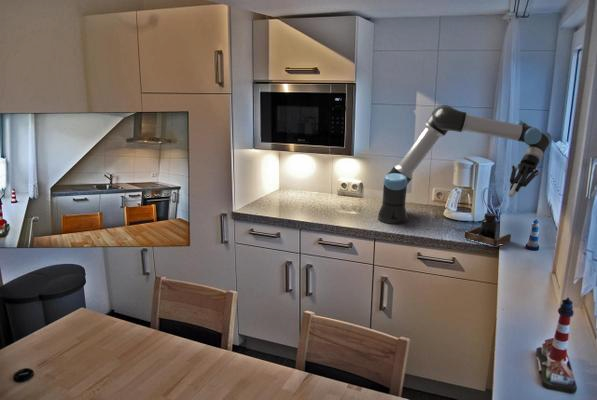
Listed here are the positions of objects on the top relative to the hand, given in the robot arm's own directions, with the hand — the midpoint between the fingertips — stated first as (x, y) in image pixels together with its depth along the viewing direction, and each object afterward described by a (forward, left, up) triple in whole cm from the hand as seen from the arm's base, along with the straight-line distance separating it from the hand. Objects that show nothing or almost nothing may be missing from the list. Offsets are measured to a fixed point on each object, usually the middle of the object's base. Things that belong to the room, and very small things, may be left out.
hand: (510, 195), depth 224 cm
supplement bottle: (0, -18, -18) cm, 25 cm away
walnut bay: (+1, -20, -18) cm, 27 cm away
